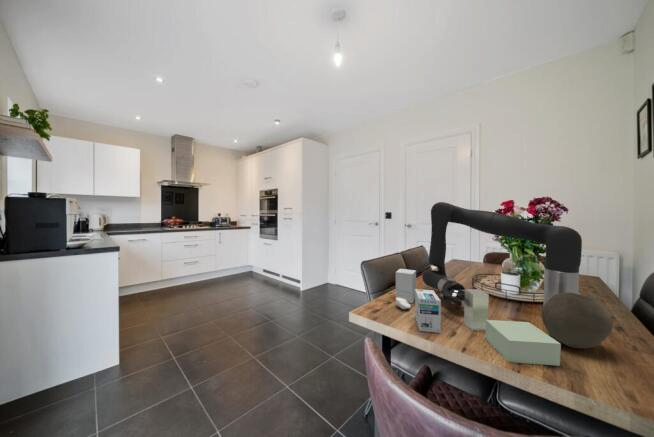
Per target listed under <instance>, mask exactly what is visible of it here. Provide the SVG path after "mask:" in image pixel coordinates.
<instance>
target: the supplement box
mask: <svg viewBox="0 0 654 437" xmlns="http://www.w3.org/2000/svg"><path fill="white" fill-rule="evenodd" d="M415 289H417V270H414V269H407V268H399V269H397V271H395V299H396V298H402V299H406V301H407V302H408V303H409V304H413V303H415Z"/></svg>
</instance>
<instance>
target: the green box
mask: <svg viewBox="0 0 654 437" xmlns="http://www.w3.org/2000/svg"><path fill="white" fill-rule="evenodd" d="M484 331H485V334H484V338H485V340H487V341H488V343H489V344H490V345H491V346H493V348H495V350H496V351H497V353H499V354H500V355H501V356H502V357H503V358H504V359H505V360H506V362H508V363H518V364H530V365H531V364H532V365H544V366H545V365H546V366H555V367H557V366H558V367H559V366H561V352H562V350H561V349H562V348H561V347H562V343H561V342H560V341H558V340H556V339H555V338H554V337H552V336H551V335H549V334H547V333H545V332H544V331H543V330H541V329H539V328H538V327H536V326H535V325H533V324H532V323H531V322H528V321H516V320H515V321H512V320H497V319H496V320H494V319H488V320H486V330H484Z"/></svg>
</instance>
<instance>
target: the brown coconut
mask: <svg viewBox="0 0 654 437" xmlns="http://www.w3.org/2000/svg"><path fill="white" fill-rule="evenodd" d="M541 317H542V323H543V325H544V327H545V329H546V331H547V332H548V335H549V336H550V337H551V338H553V339H554V340H556V341H557V342H559V343H561V344H563V345H565V346H566V347H569V348H572V349H581V350H582V349H590V348H594V347H597V346H598V345H599V344H601V343H603V342H604V341H605V340H606V339H607V338H608V337H609V336H610V334H611V333H612V330H613V326H614V323H613V317H612V316H611V314H610V312H609V311H608V310H607V308H606V307H605V306H604V305H603V304H601V303H600V302H599V301H598V300H596V299H594V298H592V297H590V296H588V295H584V294H583V295H582V294H581V295H579V294H575V293H559V294H556V295H554V296H552V297H551V298H550V299H549V300H548V301H547V302H546V304H545V305H544V307H542V312H541Z"/></svg>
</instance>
